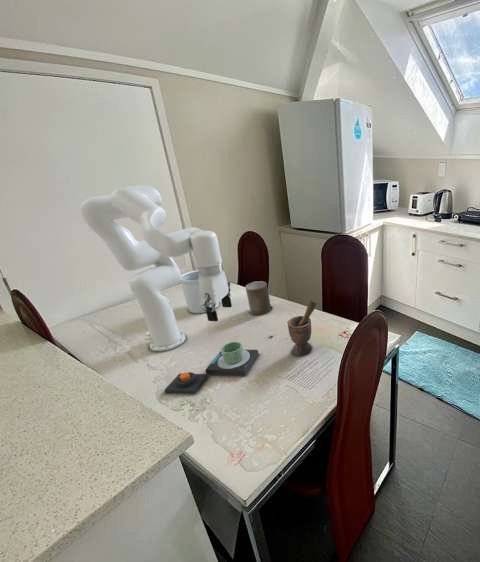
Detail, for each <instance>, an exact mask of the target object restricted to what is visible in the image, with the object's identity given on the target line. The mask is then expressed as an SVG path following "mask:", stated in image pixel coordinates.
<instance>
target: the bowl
mask: <svg viewBox="0 0 480 562" xmlns="http://www.w3.org/2000/svg"><path fill="white" fill-rule="evenodd" d="M243 349H244V348H243V344H242V343H241V342H239V341H231V342H228V343H226V344H224V345H222V347H221V349H220V351H221V352H222V356H223V360H224V362H226V363H229V364H233V363H237V362H239V361H240V360H241V359H242V358H243V357H244V352H243Z"/></svg>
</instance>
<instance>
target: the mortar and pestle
mask: <svg viewBox="0 0 480 562" xmlns="http://www.w3.org/2000/svg"><path fill="white" fill-rule="evenodd" d="M316 307H317V301H315V300H312V299H311V300H310V301H309V302H308V304H307V307H306V309H305V313H304V314H303V315H298V316H297V315H296V316H294V317H291V318H290V319H288V320H287V329H288V335H289V337H290V340H291V341H292V342H293V343H294V345H293V346H292V354H294V355H295V356H305V355H307V354H309V353H310V352H311V351H312V350H313V347H312V345H311V343H310V342H309V341H310V340H311V336H312V320H311V318H310V317H311V315H312V314H313V312H314V311H315V309H316Z"/></svg>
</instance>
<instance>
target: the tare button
mask: <svg viewBox="0 0 480 562" xmlns="http://www.w3.org/2000/svg"><path fill="white" fill-rule="evenodd" d="M180 374H181V375H180V380H181V381H183V382H184V381H187V380H189V379H190V375H189V373H187V372H183V373H180Z"/></svg>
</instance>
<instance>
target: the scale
mask: <svg viewBox="0 0 480 562" xmlns="http://www.w3.org/2000/svg"><path fill="white" fill-rule="evenodd" d="M243 352H244V357H243V358H242V359H241V360H240V361H239V362H237V363H233V364H229V363H226V362H224V360H223V356H222V352H221V350H220V351H219V353H217V355H216V356H215V357H214V359H213V360H212V361H211V362H210V363H209V365H208V366H207V367H206V368H205V374H207V375H208V376H228V377H230V376H231V377H232V376H233V377H234V376H235V377H246V376H247V375H248V373H249V372H250V370H251V368H252V367H253V365H254V364H255V362H256V361H257V360H258V357H259V356H260V355H259V354H260V353H259V349H244V348H243Z"/></svg>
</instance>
